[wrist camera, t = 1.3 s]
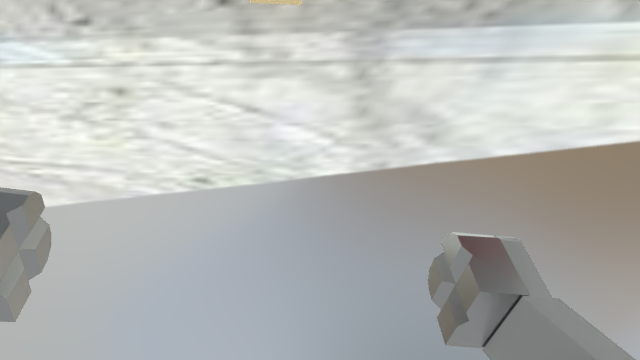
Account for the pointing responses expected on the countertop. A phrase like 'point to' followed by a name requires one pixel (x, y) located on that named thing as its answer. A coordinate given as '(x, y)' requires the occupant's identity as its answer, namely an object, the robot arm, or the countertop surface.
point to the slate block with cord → (278, 1)
